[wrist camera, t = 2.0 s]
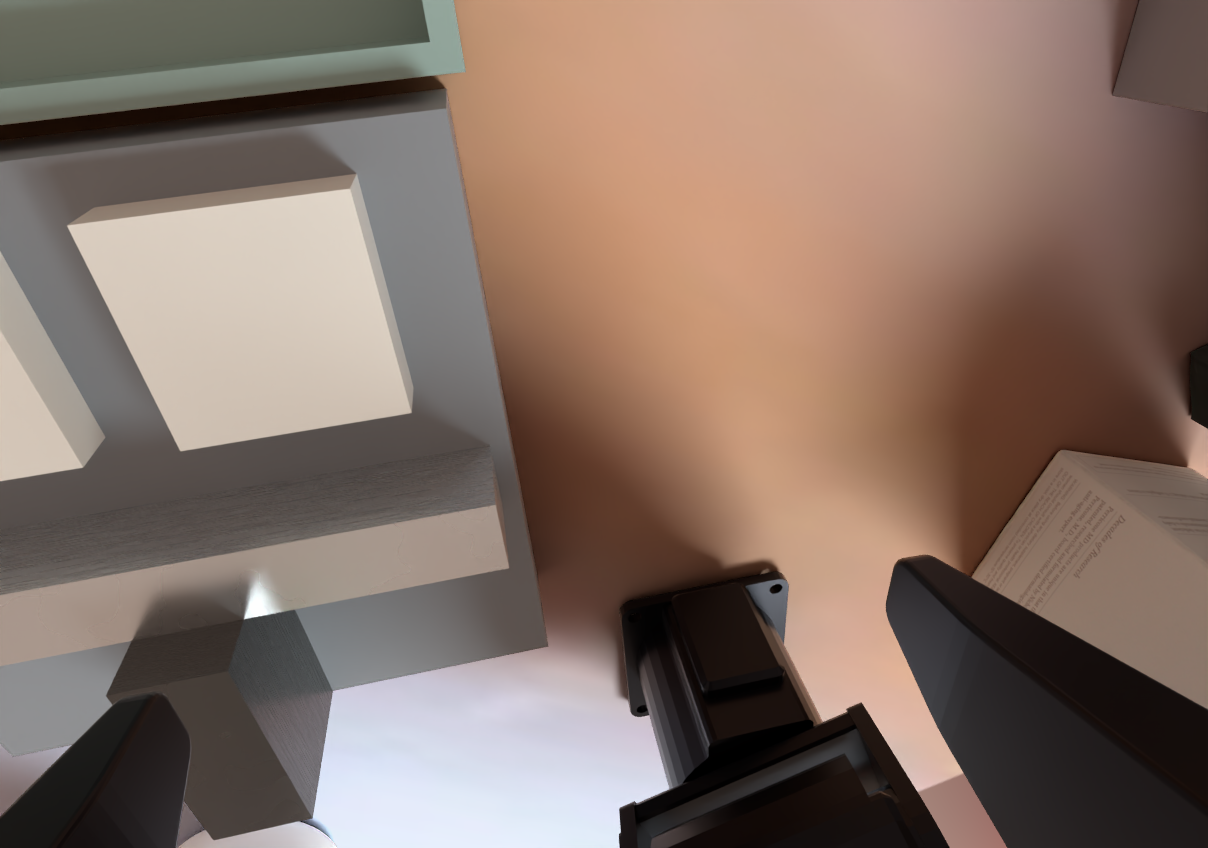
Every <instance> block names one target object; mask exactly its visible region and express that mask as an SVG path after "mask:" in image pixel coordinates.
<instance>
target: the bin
mask: <svg viewBox="0 0 1208 848" xmlns="http://www.w3.org/2000/svg"><path fill="white" fill-rule="evenodd" d="M459 72H466V71H465V65H464V59H463V53H462V47H461V41H460V36H459V30H458V24H457V18H456V12H455V6H454V0H0V125H5V124H13V123H22V122H31V121H40V120H48V119H57V118H66V117H75V116H83V115H92V114H101V113H109V112H118V111H127V110H136V109H144V108H153V107H162V106H171V105H179V104H188V103H197V102H206V101H214V100H223V99H232V98H241V97H249V96H258V95H267V94H276V93H284V92H293V91H302V90H311V89H319V88H328V87H337V86H346V85H354V84H363V83H372V82H381V81H389V80H398V79H407V78H416V77H424V76H433V75H442V74H451V73H459Z"/></svg>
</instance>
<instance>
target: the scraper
mask: <svg viewBox="0 0 1208 848" xmlns="http://www.w3.org/2000/svg"><path fill="white" fill-rule="evenodd" d="M507 568H509V561H508V552H507V542H506V533H505V524H504V514H503V505H502V500H501V495H500V490H499V485H498V481H497V476H496V471H495V466H494V461H493V457H492V452H491V447H490V445H486V446H480V447H474V448H468V449H463V450H457V451H451V452H445V453H439V454H434V455H428V456H422V457H416V458H411V459H405V460H399V461H393V462H387V463H382V464H376V465H370V466H364V467H359V468H353V469H347V470H341V471H335V472H330V473H324V474H318V475H312V476H306V477H301V478H295V479H289V480H283V481H278V482H272V483H266V484H260V485H254V486H249V487H243V488H237V489H231V490H226V491H220V492H214V493H208V494H202V495H197V496H191V497H185V498H179V499H173V500H168V501H162V502H156V503H150V504H145V505H139V506H133V507H127V508H121V509H116V510H110V511H104V512H98V513H93V514H87V515H81V516H75V517H69V518H64V519H58V520H52V521H46V522H40V523H35V524H29V525H23V526H17V527H12V528H6V529H0V666H4V665H9V664H14V663H20V662H25V661H30V660H35V659H40V658H46V657H51V656H56V655H61V654H66V653H71V652H77V651H82V650H87V649H92V648H97V647H103V646H108V645H113V644H118V643H123V642H129V641H131V643H130V645H129V648H128V650H127V652H126V654H125V656H124V658H123V660H122V662H121V665H120V667H119V669H118V671H117V673H116V675H115V677H114V679H113V681H112V684H111V686H110V688H109V690H108V692H107V694H106V697H107V698H108V700H109V701H110V702H111V704H112V705H113V704H114V703H115V702H117V701H118V700H120V699H121V698H123V697H126V696H131V695H136V694H142V693H147V692H153V691H159V692H161V693H163V694H165V695H166V696H167V698H168V699H169V701H170V703H171V704H172V706H173V708H174V709H175V711H176V712H177V714H178V716H179V717H180V719H181V721H182V722H183V724H184V726H185V727H186V729H187V731H188V733H189V736H190V740H191V757H190V763H189V770H188V776H187V782H186V789H185V795H184V801H185V803H186V804H187V805H188V807H189V808H190V810H191V811H192V812H193V814H194V815H195V816H196V818H197V819H198V820H199V822H200V823H201V824H202V826H203V827H204V828H205V830H206V831H207V832H208V834H209V835H210V836H211V838H212V839H213V840H218V839H223V838H227V837H232V836H236V835H240V834H245V833H249V832H254V831H258V830H263V829H267V828H272V827H276V826H280V825H285V824H289V823H294V822H298V821H303V820H307V819H312V818H313V812H314V806H315V800H316V793H317V787H318V781H319V774H320V768H321V762H322V756H323V749H324V743H325V737H326V730H327V724H328V718H329V711H330V705H331V699H332V693H333V690H332V688H331V686H330V684H329V682H328V679H327V677H326V675H325V673H324V671H323V669H322V666H321V664H320V662H319V660H318V658H317V656H316V654H315V651H314V649H313V647H312V645H311V643H310V641H309V638H308V636H307V634H306V632H305V630H304V628H303V625H302V623H301V621H300V619H299V617H298V615H297V613H296V610H295V609H300V608H305V607H310V606H315V605H321V604H326V603H331V602H336V601H341V600H346V599H352V598H357V597H362V596H367V595H372V594H378V593H383V592H388V591H393V590H398V589H404V588H409V587H414V586H419V585H424V584H429V583H435V582H440V581H445V580H450V579H455V578H461V577H466V576H471V575H476V574H481V573H487V572H492V571H497V570H502V569H507Z"/></svg>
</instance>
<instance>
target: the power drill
mask: <svg viewBox="0 0 1208 848" xmlns="http://www.w3.org/2000/svg"><path fill="white" fill-rule="evenodd" d="M1190 391H1191V404H1192V414H1191V419H1192V420H1194V421H1195V422H1197V423H1199V424H1201V425H1202V426H1204V427H1206V428H1207V429H1208V345H1206V346H1204V347H1201V348H1199V349H1197V350H1195V351H1193V352H1191V367H1190Z"/></svg>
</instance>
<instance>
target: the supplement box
mask: <svg viewBox="0 0 1208 848" xmlns="http://www.w3.org/2000/svg"><path fill="white" fill-rule="evenodd" d="M971 578H973V579H975V580H976V581H978V582H980V583H982V584H984V585H985V586H987V587H989V588H991V589H993V590H994V591H996V592H998V593H1000V594H1002V595H1003V596H1005V597H1007V598H1009V599H1011V600H1012V601H1014V602H1016V603H1018V604H1020V605H1021V606H1023V607H1025V608H1027V609H1029V610H1030V611H1032V612H1034V613H1036V614H1038V615H1039V616H1041V617H1043V618H1045V619H1047V620H1048V621H1050V622H1052V623H1054V624H1056V625H1057V626H1059V627H1061V628H1063V629H1065V630H1066V631H1068V632H1070V633H1072V634H1074V635H1075V636H1077V637H1079V638H1081V639H1083V640H1084V641H1086V642H1088V643H1090V644H1092V645H1093V646H1095V647H1097V648H1099V649H1101V650H1102V651H1104V652H1106V653H1108V654H1110V655H1111V656H1113V657H1115V658H1117V659H1119V660H1120V661H1122V662H1124V663H1126V664H1128V665H1129V666H1131V667H1133V668H1135V669H1136V670H1138V671H1140V672H1142V673H1144V674H1145V675H1147V676H1149V677H1151V678H1153V679H1154V680H1156V681H1158V682H1160V683H1162V684H1163V685H1165V686H1167V687H1169V688H1171V689H1172V690H1174V691H1176V692H1178V693H1180V694H1181V695H1183V696H1185V697H1187V698H1189V699H1190V700H1192V701H1194V702H1196V703H1198V704H1199V705H1201V706H1203V707H1205V708H1207V709H1208V479H1207V478H1205V477H1204V476H1202V475H1201V474H1199V473H1198V472H1196V471H1195V470H1193V469H1191V468H1187V467H1179V466H1173V465H1167V464H1160V463H1152V462H1145V461H1138V460H1131V459H1124V458H1117V457H1110V456H1103V455H1096V454H1089V453H1082V452H1075V451H1068V450H1060V451H1059V452H1058V453H1057V454H1056V455H1055V457H1054V458H1053V459H1052V461H1051V462H1050V463H1049V465H1048V467H1047V468H1046V469H1045V471H1044V472H1043V473H1042V475H1041V476H1040V478H1039V479H1038V481H1037V482H1036V483H1035V485H1034V486H1033V488H1032V489H1031V491H1030V492H1029V494H1028V495H1027V497H1026V498H1025V499H1024V501H1023V502H1022V504H1021V505H1020V506H1019V508H1018V509H1017V511H1016V512H1015V514H1014V516H1013V517H1012V518H1011V520H1010V521H1009V522H1008V524H1007V525H1006V526H1005V528H1004V529H1003V531H1002V532H1001V534H1000V535H999V537H998V538H997V540H996V541H995V543H994V544H993V546H992V547H991V549H990V550H989V552H988V553H987V555H986V556H985V558H984V559H983V561H982V562H981V563H980V564H979V566H978V567H977V569H976V570H975V572H974V574H973V575H972V577H971Z"/></svg>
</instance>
